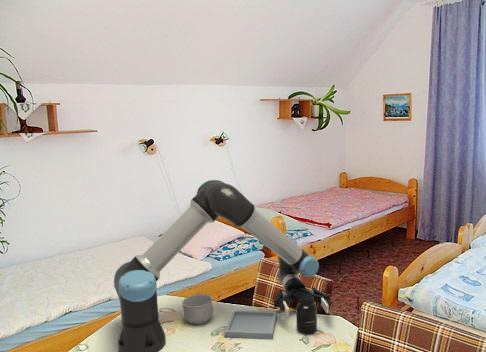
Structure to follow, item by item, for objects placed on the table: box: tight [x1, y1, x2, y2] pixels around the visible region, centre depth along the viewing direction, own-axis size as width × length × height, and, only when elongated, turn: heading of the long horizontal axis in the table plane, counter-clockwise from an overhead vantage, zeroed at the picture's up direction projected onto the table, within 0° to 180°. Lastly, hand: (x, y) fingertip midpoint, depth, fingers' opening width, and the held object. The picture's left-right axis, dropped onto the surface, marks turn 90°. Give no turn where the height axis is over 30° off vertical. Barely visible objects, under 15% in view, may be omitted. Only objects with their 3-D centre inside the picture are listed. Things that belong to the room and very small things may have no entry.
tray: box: [223, 310, 278, 340], centre depth 152 cm, size 16×16×2 cm
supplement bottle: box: [295, 294, 318, 336], centre depth 147 cm, size 7×7×12 cm
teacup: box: [181, 291, 214, 325], centre depth 160 cm, size 14×11×8 cm
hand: (307, 311), depth 147 cm, fingers open, 13 cm apart
